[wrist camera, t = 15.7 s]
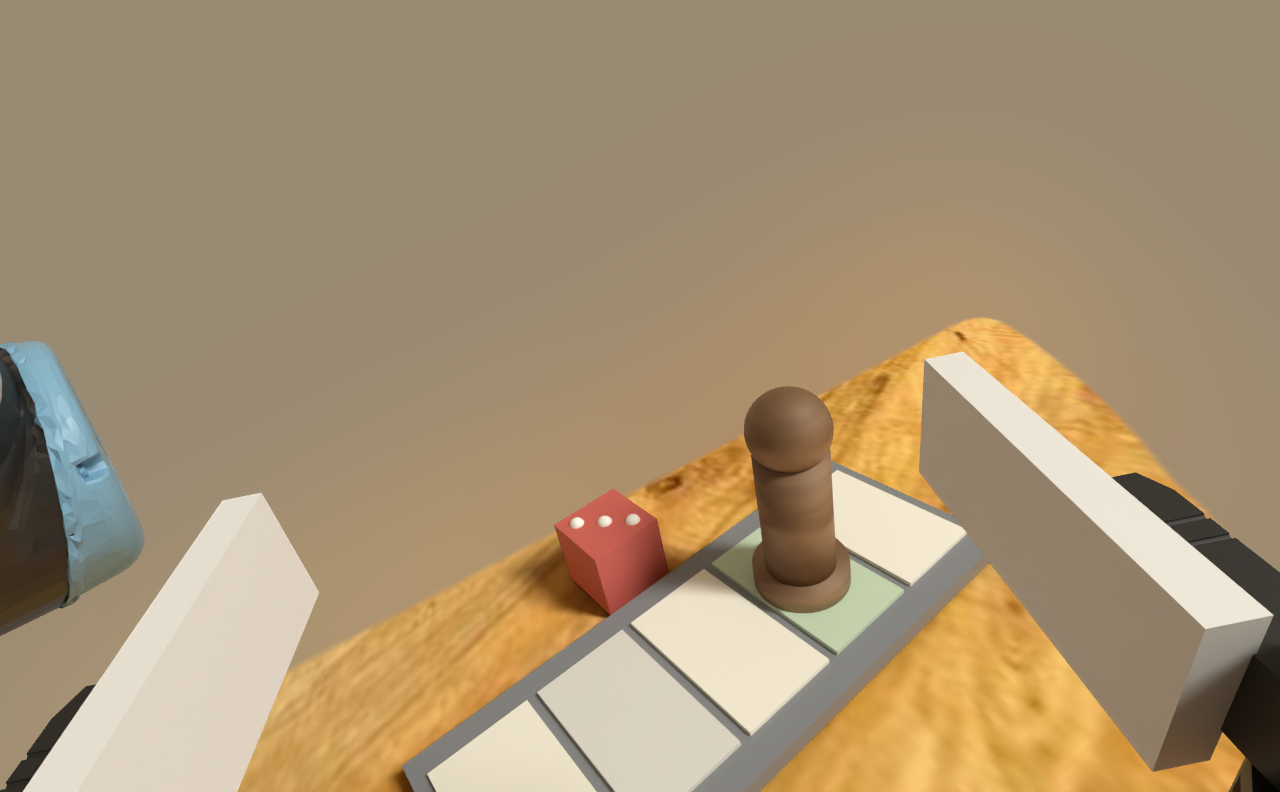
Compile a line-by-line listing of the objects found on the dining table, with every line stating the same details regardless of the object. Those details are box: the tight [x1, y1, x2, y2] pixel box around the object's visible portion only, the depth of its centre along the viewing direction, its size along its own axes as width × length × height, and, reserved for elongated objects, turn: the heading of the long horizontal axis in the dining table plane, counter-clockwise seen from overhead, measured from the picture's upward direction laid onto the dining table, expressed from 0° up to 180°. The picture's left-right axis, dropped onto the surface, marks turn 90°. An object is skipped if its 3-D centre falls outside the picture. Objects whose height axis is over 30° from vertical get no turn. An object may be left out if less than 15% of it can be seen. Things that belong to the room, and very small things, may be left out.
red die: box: [554, 489, 669, 615], centre depth 41 cm, size 4×4×5 cm
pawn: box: [744, 386, 851, 613], centre depth 34 cm, size 5×5×12 cm
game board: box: [402, 461, 989, 792], centre depth 35 cm, size 12×31×1 cm, turn 128°
